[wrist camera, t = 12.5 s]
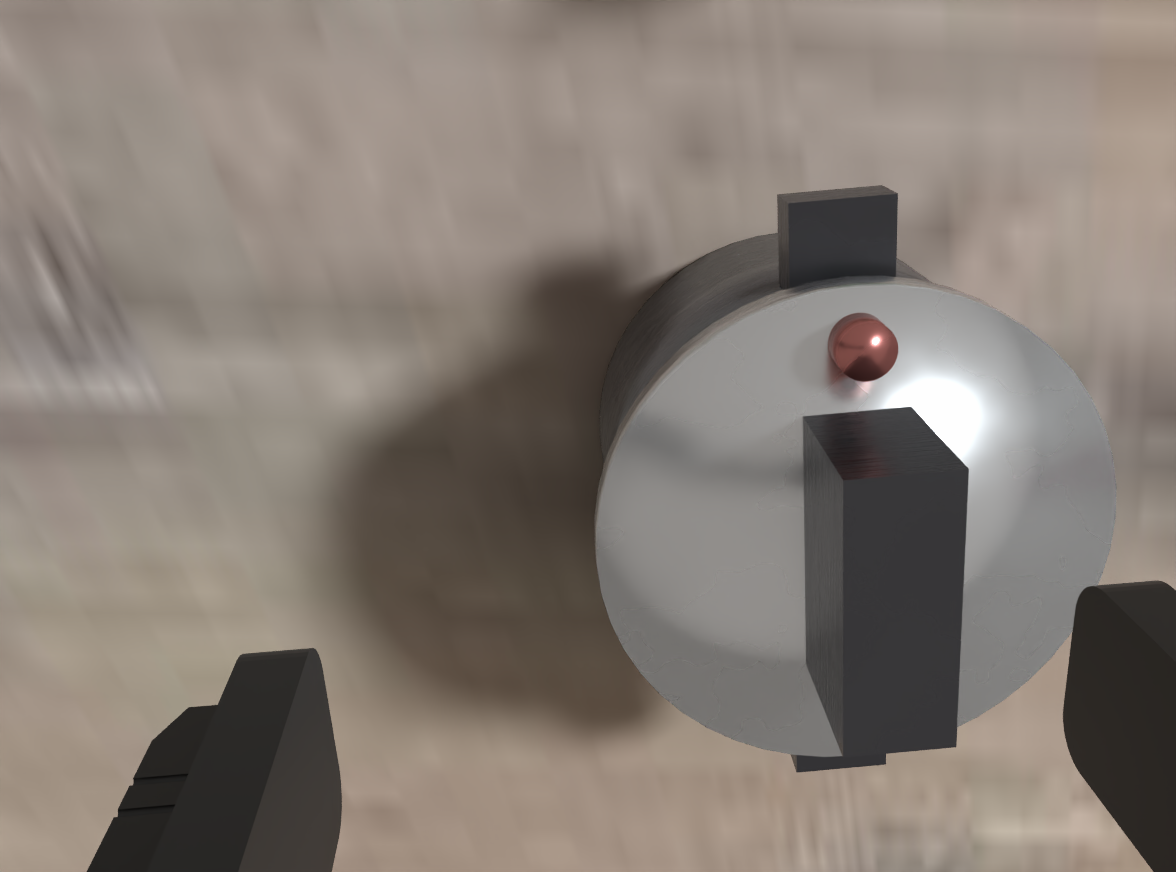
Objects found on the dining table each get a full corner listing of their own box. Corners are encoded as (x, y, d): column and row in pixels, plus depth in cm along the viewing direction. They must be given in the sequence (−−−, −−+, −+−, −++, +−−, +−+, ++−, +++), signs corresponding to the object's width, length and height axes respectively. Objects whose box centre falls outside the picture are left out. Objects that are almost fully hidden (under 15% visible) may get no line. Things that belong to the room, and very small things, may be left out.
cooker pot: (615, 653, 45) (632, 802, 36) (575, 177, 38) (584, 226, 29) (964, 621, 45) (1061, 763, 36) (988, 141, 38) (1114, 179, 29)
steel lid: (614, 753, 35) (625, 882, 30) (572, 301, 30) (578, 363, 25) (1076, 710, 36) (1167, 831, 30) (1119, 251, 30) (1239, 302, 25)
